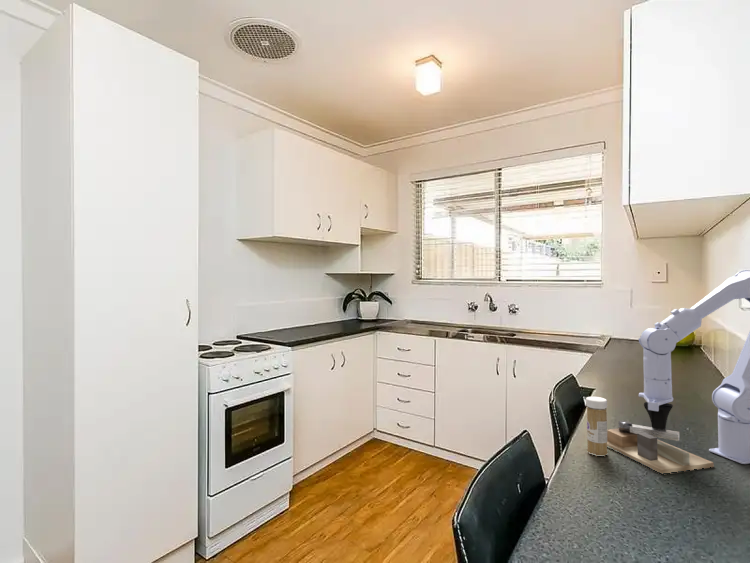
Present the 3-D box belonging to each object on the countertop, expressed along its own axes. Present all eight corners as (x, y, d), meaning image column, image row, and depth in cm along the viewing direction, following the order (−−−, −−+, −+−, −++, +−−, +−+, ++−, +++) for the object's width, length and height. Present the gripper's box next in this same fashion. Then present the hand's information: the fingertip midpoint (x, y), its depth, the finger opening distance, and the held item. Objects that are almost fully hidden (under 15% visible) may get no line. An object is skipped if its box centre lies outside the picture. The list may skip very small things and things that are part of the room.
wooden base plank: (645, 438, 112) (645, 415, 112) (713, 467, 95) (713, 440, 95) (600, 444, 109) (599, 420, 109) (661, 474, 91) (661, 446, 91)
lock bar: (617, 430, 107) (617, 423, 107) (619, 427, 109) (619, 419, 109) (678, 441, 99) (678, 433, 99) (679, 438, 101) (679, 429, 101)
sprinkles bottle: (583, 450, 105) (581, 396, 105) (600, 449, 106) (599, 395, 106) (594, 458, 101) (593, 401, 101) (612, 457, 101) (611, 400, 101)
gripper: (643, 370, 112) (645, 422, 112) (632, 381, 101) (633, 438, 101) (676, 373, 107) (677, 427, 107) (668, 385, 96) (669, 445, 96)
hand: (658, 433), depth 104 cm, fingers closed, pressing on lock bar
